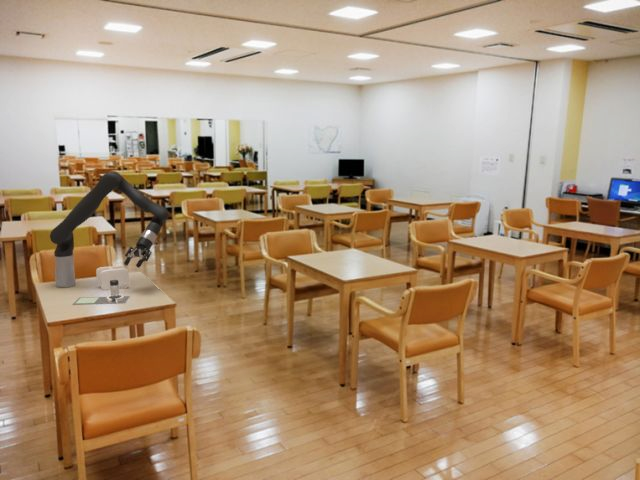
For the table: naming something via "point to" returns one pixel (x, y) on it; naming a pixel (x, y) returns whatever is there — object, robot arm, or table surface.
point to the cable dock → (101, 300)
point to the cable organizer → (112, 276)
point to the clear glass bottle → (114, 289)
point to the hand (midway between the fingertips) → (131, 265)
